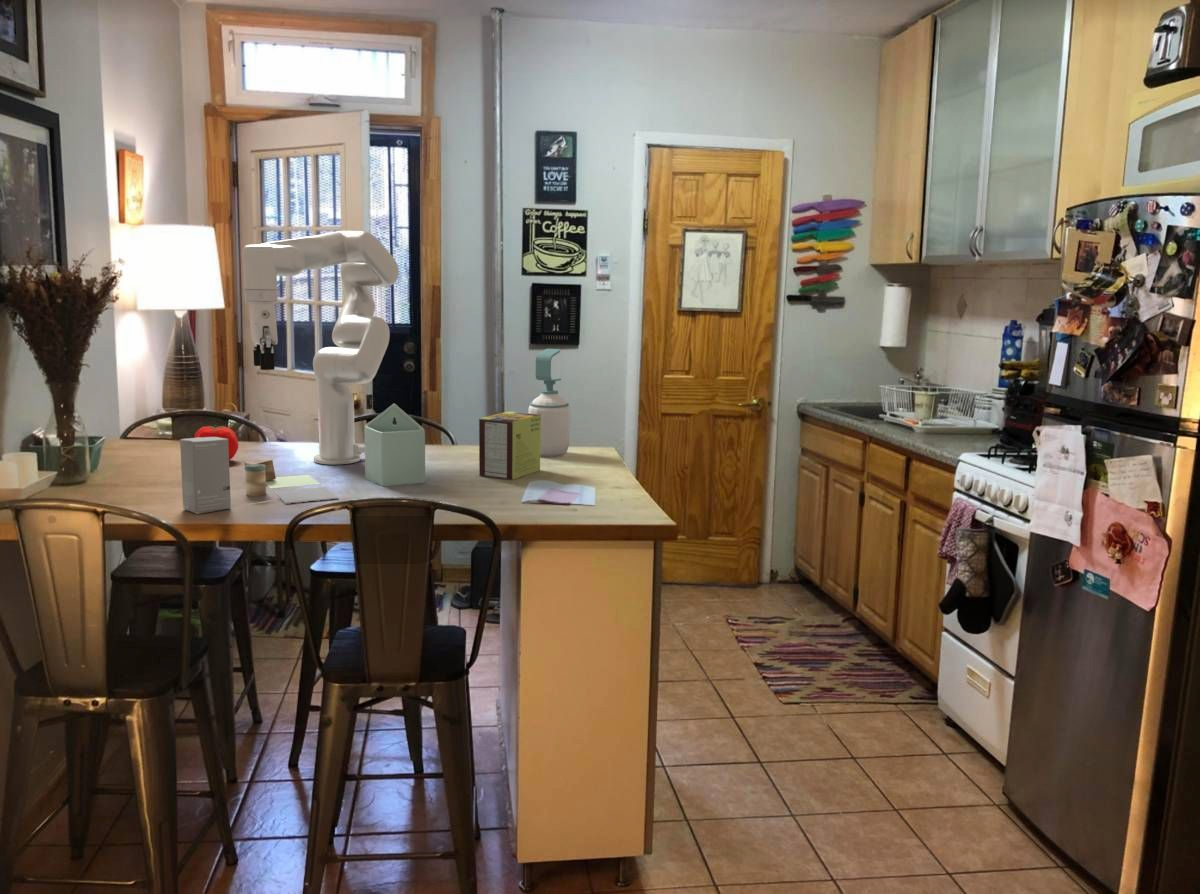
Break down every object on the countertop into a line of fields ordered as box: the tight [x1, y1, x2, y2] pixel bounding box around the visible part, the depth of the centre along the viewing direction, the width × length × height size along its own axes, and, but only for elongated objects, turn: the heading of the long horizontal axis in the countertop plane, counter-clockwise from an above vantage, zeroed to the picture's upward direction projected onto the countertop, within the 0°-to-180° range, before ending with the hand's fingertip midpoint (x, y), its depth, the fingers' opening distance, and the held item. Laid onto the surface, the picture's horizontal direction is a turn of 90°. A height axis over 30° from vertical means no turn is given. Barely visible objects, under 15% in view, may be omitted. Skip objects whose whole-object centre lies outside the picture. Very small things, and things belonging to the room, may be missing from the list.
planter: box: [364, 403, 426, 487], centre depth 236 cm, size 16×8×20 cm, turn 78°
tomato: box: [193, 424, 239, 461], centre depth 257 cm, size 12×12×10 cm
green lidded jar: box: [244, 464, 267, 497], centre depth 221 cm, size 5×5×7 cm
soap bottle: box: [527, 348, 571, 458], centre depth 278 cm, size 12×12×31 cm
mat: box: [266, 474, 321, 489], centre depth 235 cm, size 12×12×1 cm
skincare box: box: [179, 437, 232, 515], centre depth 206 cm, size 8×7×16 cm
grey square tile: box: [274, 486, 339, 505], centre depth 221 cm, size 12×12×1 cm
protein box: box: [478, 411, 541, 481], centre depth 252 cm, size 10×15×16 cm
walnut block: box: [243, 457, 276, 482], centre depth 234 cm, size 5×5×5 cm
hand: (264, 367), depth 232 cm, fingers open, 9 cm apart
